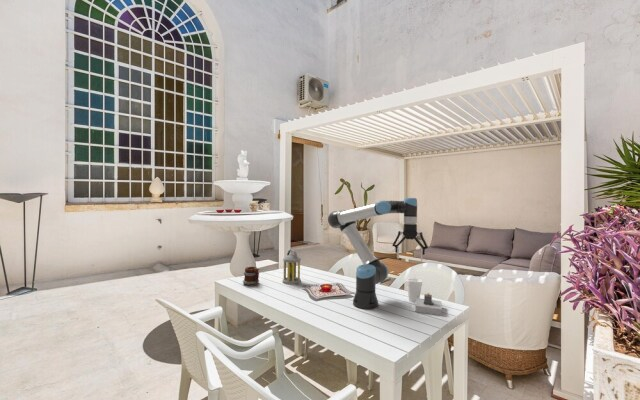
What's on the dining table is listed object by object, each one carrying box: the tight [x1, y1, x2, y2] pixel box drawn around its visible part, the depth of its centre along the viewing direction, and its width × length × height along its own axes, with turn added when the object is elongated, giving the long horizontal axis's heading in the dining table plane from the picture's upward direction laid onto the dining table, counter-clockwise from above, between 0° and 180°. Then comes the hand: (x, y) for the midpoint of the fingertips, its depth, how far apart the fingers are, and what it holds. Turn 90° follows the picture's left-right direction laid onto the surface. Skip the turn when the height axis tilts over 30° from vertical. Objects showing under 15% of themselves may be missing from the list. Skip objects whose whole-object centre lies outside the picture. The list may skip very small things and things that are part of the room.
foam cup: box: [406, 277, 423, 303], centre depth 192 cm, size 10×9×13 cm
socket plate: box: [414, 297, 443, 316], centre depth 177 cm, size 14×14×4 cm
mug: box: [242, 266, 260, 287], centre depth 223 cm, size 12×14×15 cm
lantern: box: [281, 248, 302, 285], centre depth 231 cm, size 14×14×25 cm
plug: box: [423, 292, 433, 305], centre depth 177 cm, size 4×4×8 cm
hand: (409, 259), depth 180 cm, fingers open, 13 cm apart
